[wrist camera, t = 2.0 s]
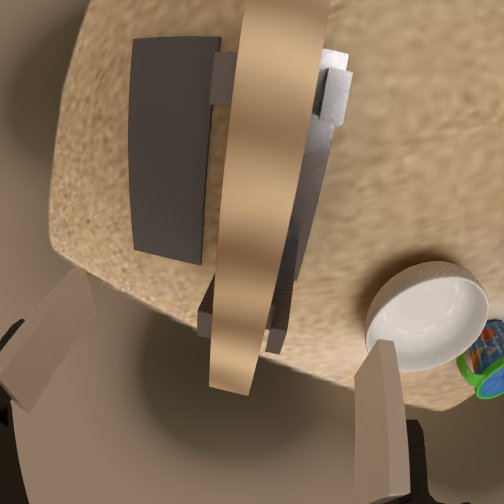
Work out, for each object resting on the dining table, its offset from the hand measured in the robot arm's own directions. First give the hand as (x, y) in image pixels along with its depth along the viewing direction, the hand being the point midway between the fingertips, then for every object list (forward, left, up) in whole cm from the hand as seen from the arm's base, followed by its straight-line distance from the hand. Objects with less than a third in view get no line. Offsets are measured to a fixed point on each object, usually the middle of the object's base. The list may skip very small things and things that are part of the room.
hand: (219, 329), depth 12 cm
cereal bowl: (+13, +22, -23) cm, 35 cm away
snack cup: (+18, +40, -23) cm, 50 cm away
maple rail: (0, 0, -10) cm, 10 cm away
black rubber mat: (+1, -13, -23) cm, 26 cm away
